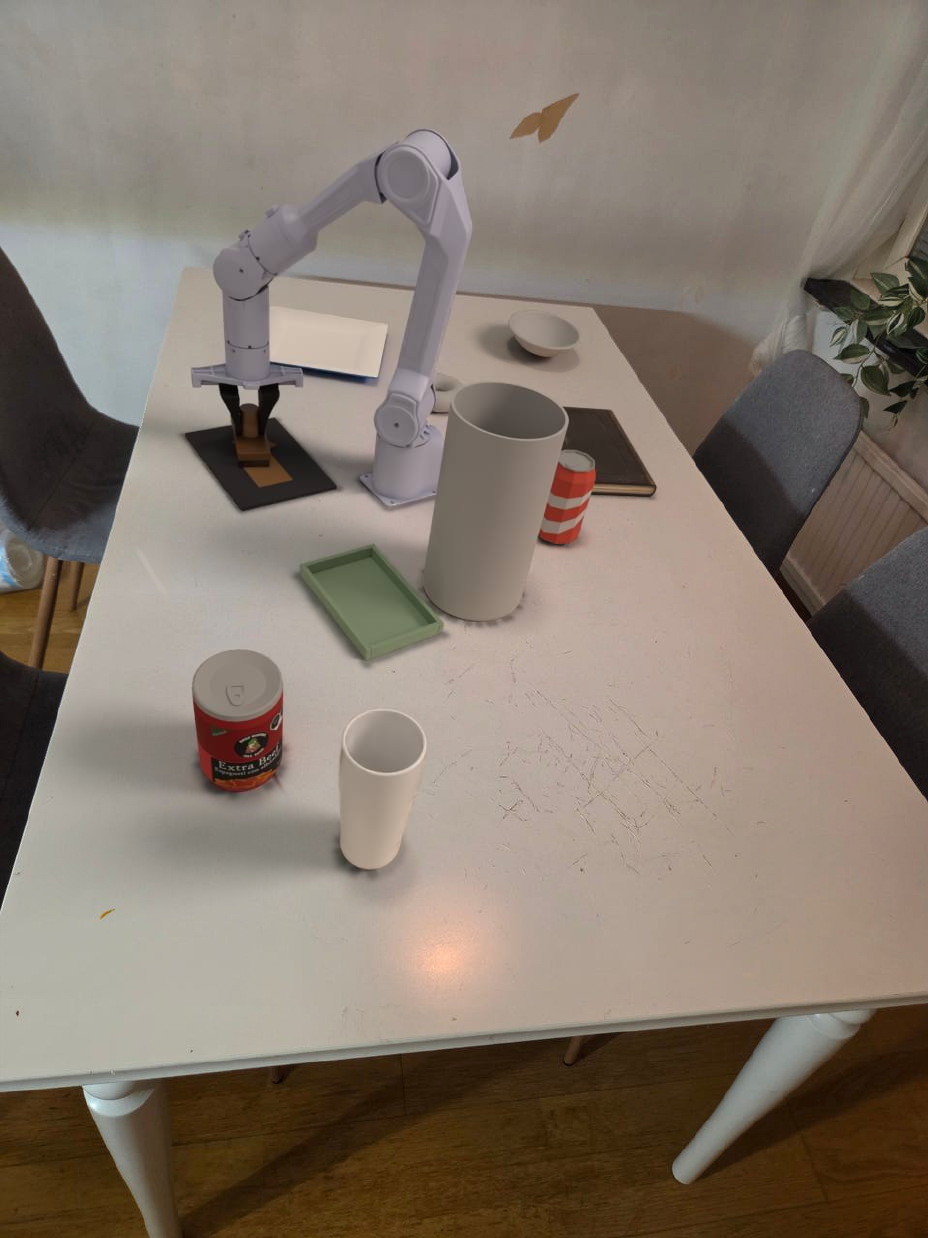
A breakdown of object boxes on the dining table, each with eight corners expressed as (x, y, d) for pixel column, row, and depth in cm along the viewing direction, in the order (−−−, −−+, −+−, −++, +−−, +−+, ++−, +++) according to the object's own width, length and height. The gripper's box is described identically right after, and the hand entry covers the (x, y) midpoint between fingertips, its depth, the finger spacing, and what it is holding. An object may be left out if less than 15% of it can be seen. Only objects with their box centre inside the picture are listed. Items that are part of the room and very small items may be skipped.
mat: (274, 419, 123) (274, 416, 122) (336, 488, 112) (337, 485, 111) (184, 435, 115) (184, 432, 115) (241, 511, 104) (241, 507, 104)
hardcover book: (555, 493, 120) (559, 480, 118) (522, 415, 136) (525, 403, 134) (653, 497, 123) (658, 484, 122) (610, 421, 140) (614, 409, 138)
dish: (501, 329, 162) (506, 305, 159) (570, 339, 164) (576, 315, 160) (505, 367, 149) (511, 342, 146) (580, 378, 151) (587, 353, 147)
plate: (376, 387, 135) (377, 376, 134) (242, 367, 133) (242, 355, 132) (387, 333, 152) (388, 323, 151) (268, 315, 150) (268, 304, 148)
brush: (230, 429, 118) (229, 389, 113) (261, 428, 119) (260, 389, 115) (238, 468, 110) (236, 427, 106) (270, 467, 112) (270, 426, 108)
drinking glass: (332, 812, 73) (341, 705, 63) (406, 813, 75) (426, 708, 65) (330, 880, 68) (339, 775, 58) (408, 880, 70) (430, 777, 60)
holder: (372, 555, 102) (373, 543, 101) (441, 635, 93) (444, 623, 92) (299, 576, 97) (299, 564, 96) (365, 662, 88) (366, 650, 87)
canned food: (212, 804, 72) (204, 726, 65) (190, 739, 77) (181, 659, 70) (294, 779, 75) (296, 702, 68) (268, 718, 80) (267, 640, 73)
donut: (400, 408, 132) (459, 421, 131) (402, 388, 129) (462, 402, 129) (415, 383, 139) (470, 395, 139) (417, 364, 137) (473, 376, 136)
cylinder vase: (471, 547, 106) (507, 371, 90) (540, 598, 101) (592, 421, 84) (401, 581, 99) (426, 396, 82) (471, 639, 93) (513, 453, 77)
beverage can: (524, 531, 111) (543, 456, 103) (551, 515, 115) (572, 442, 107) (557, 553, 109) (579, 478, 101) (585, 536, 112) (608, 463, 104)
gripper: (190, 352, 99) (198, 447, 108) (308, 353, 104) (305, 445, 113) (187, 327, 104) (194, 421, 113) (299, 330, 109) (297, 419, 118)
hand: (249, 431), depth 113 cm, fingers closed on brush, 2 cm apart
